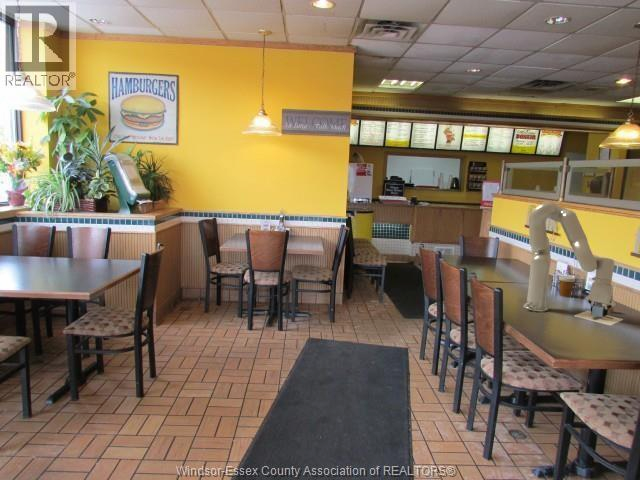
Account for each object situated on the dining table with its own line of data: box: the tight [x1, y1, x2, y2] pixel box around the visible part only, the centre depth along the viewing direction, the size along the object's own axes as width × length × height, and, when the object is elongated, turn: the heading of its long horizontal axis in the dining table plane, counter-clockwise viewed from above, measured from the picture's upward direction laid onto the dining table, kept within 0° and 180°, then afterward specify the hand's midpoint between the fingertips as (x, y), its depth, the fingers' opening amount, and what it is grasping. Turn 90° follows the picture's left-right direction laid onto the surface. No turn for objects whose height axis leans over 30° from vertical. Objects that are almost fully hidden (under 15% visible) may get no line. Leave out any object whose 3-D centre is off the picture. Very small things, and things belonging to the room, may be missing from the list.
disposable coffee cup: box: [558, 275, 576, 298], centre depth 286 cm, size 10×10×12 cm
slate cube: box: [592, 303, 605, 317], centre depth 240 cm, size 5×5×5 cm
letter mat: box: [573, 310, 624, 326], centre depth 241 cm, size 18×18×1 cm
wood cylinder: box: [601, 303, 615, 314], centre depth 253 cm, size 6×6×6 cm
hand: (598, 314), depth 241 cm, fingers closed on slate cube, 5 cm apart
